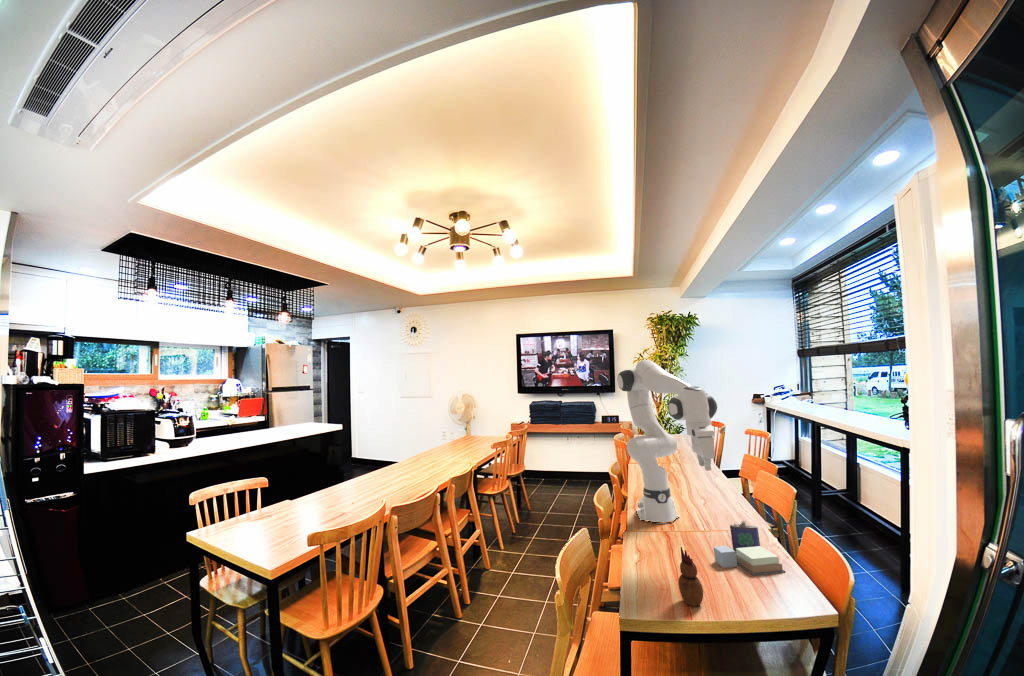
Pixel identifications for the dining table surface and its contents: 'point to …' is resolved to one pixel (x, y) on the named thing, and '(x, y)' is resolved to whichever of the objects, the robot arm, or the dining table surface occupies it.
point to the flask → (744, 536)
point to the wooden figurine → (689, 581)
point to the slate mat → (761, 572)
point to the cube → (725, 556)
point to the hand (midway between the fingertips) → (705, 468)
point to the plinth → (759, 568)
